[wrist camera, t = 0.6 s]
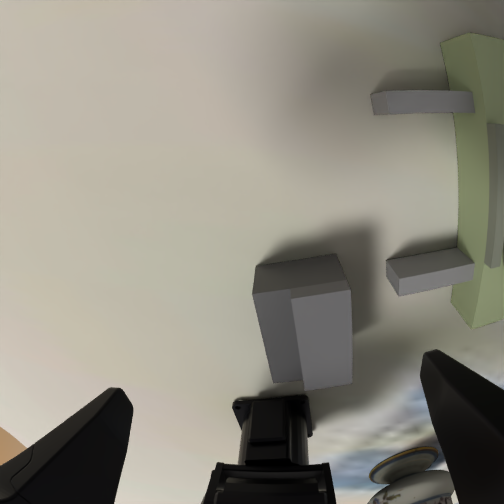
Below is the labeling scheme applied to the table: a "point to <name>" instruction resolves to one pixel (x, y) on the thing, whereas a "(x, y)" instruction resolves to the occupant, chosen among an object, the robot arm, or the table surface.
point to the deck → (464, 180)
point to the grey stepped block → (306, 321)
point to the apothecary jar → (412, 479)
